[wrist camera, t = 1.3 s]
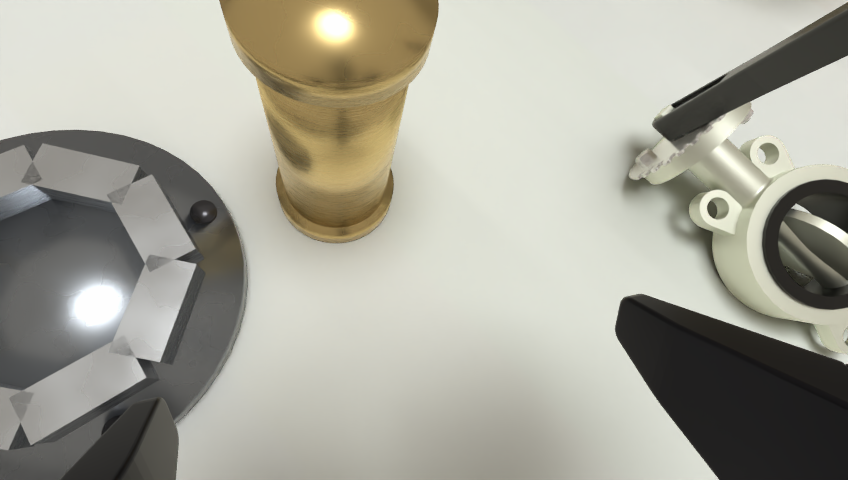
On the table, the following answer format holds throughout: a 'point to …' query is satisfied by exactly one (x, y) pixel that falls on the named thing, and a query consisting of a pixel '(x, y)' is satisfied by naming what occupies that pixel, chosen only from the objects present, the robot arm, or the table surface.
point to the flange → (106, 291)
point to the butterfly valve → (764, 187)
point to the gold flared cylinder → (333, 100)
